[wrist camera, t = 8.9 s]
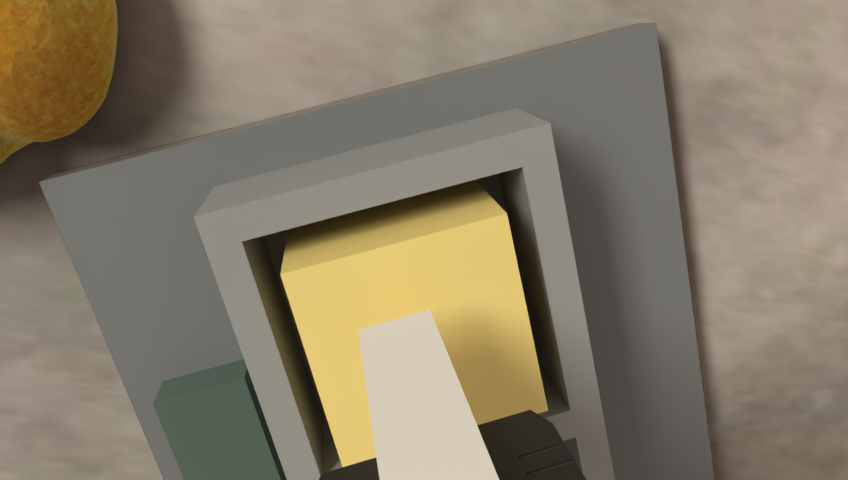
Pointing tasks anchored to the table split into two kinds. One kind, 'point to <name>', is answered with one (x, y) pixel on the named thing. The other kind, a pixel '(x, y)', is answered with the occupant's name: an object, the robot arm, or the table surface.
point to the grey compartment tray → (386, 182)
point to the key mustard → (413, 302)
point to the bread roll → (53, 67)
